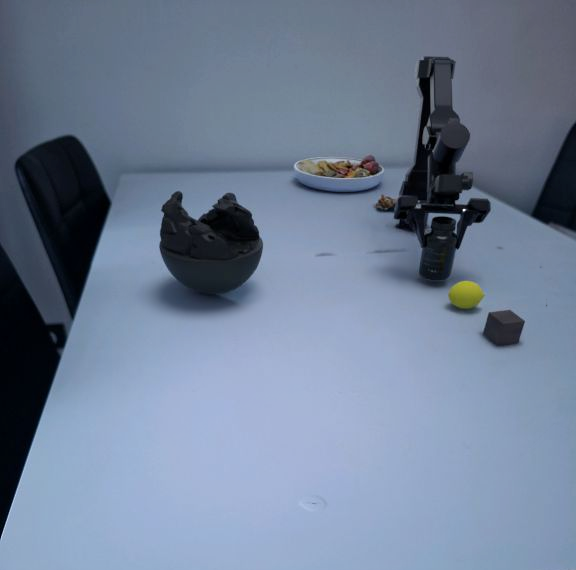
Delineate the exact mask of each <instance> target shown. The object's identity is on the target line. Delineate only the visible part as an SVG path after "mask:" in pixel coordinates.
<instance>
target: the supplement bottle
mask: <svg viewBox="0 0 576 570" xmlns="http://www.w3.org/2000/svg"><path fill="white" fill-rule="evenodd" d="M456 230H457V220H456V219H455V218H453V217H450V216H444V215H438V216H434V217H432V219H431V224H430V229H429V230H428V231H426V232H425V246H424V248H422V247H421V251H420V252H421V253H420V259H419V265H418V274H419V276H420V277H422V278H423V279H425V280H428V281H432V282H442V281H446V280H448V279H449V278H450V277H451V275H452V271H453V266H454V262H455V258H456V257H455V256H456V251H457V249H456V247H457V242H458V237H457V235H456Z"/></svg>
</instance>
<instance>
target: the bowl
mask: <svg viewBox="0 0 576 570" xmlns="http://www.w3.org/2000/svg"><path fill="white" fill-rule="evenodd" d="M293 172H294V176H295V178H296V180H297V181H298V182H300V183H301V184H302V185H304V186H306V187H308V188H312V189H314V190H319V191H325V192H332V193H333V192H335V193H353V192H361V191H367V190H370V189H373V188H375V187H376V186H377V185H379V184H380V183H381V182H382V180H383V178H384V176H385V168H384V167H383V166H382V165H380V164H379V163H378V162H377V161H376V158H375V156H374V155H372V154H368V155H366V156H364V158H363V159H359V158H354V157H342V156H322V157H321V156H320V157H311V158H310V157H309V158H305V159H301V160H298V161H297V162H295V163H294V165H293Z"/></svg>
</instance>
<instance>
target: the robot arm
mask: <svg viewBox="0 0 576 570" xmlns="http://www.w3.org/2000/svg"><path fill="white" fill-rule="evenodd" d="M456 62H457V61H456V60H454V59H452V58H450V57H449V56H435V55H434V56H433V55H431V56H430V55H427V56H426V55H425V56H424V55H423V56H421V59H419V60H417V61H416V63H415V67H414V79H416V80H415V89H416V91H417V94H418V96H419V98H420V104H419V113H418V120H417V128H416V137H415V145H414V152H413V162H412V165H411V166H410V167H409V169H408V170H407V172H406V173H405V177H404V180H402V184H401V185H400V189H399V193H398V197H397V198H396V199H397V202H396V205H395V207H394V208H393V219H394V220H397V221H398V223H397V224H395V227H397V228H400V229H404V230H408V231H412V232H414V234H415V236H416V238H417V241H418V244H419V245H420V247H421V249H422V248H424V246H425V234H426V231H425V228H426V227H428V220H429V214H442V215H443V214H444V215H459V219H458V221H457V222H456V231H455V234H456V235H457V237H458V242H457V247H456V250H460V249H461V245H462V242H463V239H464V237H465V234H466V231H467V229H468V227H471V226H472V225H473V224H481V223H483V222H484V221H485V219H486V218H487V216H488V215H489V213H490V212H491V210H492V207H491V206H492V204H491V201H490V200H489V198H482V197H481V198H480V197H479V198H478V197H470V198H469V200H468V202H467V203H466V204H463V203H461V204H460V203H456V201H459V199H460V198H461V197H460V196H461V195H460V194H462V193H463V191H470V190H471V189H472V188H473V183H474V173H473V172H472V171H471V172H470V171H463V172H462V173H461V174H457V163H459V162H460V160H461V158H462V156H463V155H464V152H465V151H466V148H467V145H468V143H469V142H470V139H471V133H470V130H469V129H468V127H466V126H465V125H464V124H462V123H461V118H460V116H459V114H458V113H457V112H456V111H455V110H454V107H453V106H454V105H453V81H452V80H453V79H454V77H455V69H456Z"/></svg>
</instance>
